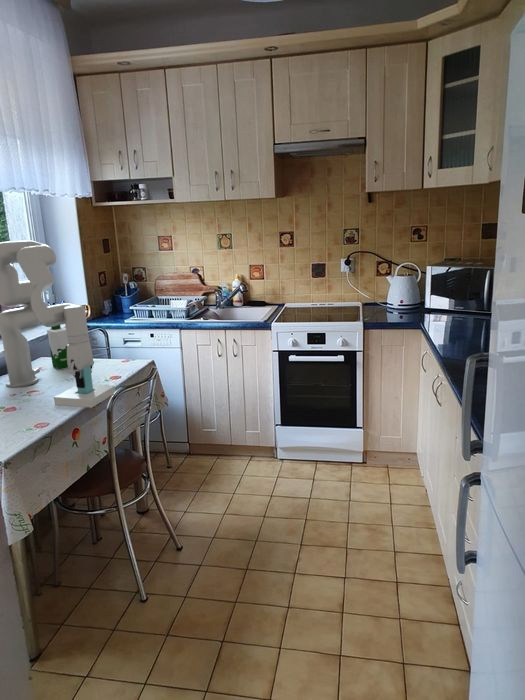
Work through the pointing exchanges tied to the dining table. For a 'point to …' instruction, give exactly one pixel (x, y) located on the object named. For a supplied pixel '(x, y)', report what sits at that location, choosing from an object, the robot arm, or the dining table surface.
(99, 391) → the white square-hole board
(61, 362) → the milk carton
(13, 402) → the dining table surface
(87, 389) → the plug
